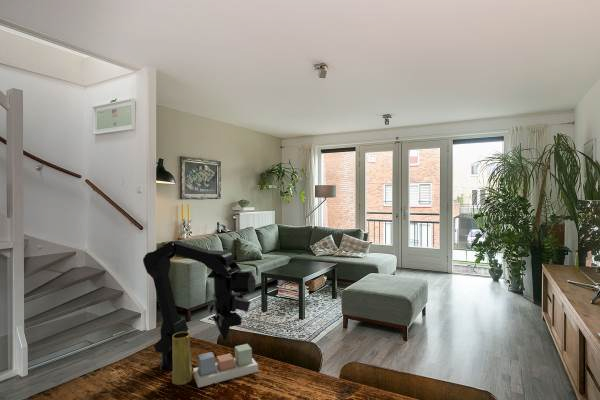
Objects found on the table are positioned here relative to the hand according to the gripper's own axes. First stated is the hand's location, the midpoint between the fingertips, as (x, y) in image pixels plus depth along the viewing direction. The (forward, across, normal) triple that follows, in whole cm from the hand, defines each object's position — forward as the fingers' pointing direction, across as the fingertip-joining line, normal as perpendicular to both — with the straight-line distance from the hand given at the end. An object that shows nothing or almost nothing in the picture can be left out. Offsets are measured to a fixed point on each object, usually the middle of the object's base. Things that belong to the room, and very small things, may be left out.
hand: (224, 339), depth 113 cm
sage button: (+9, 0, -6) cm, 11 cm away
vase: (+11, +3, +13) cm, 17 cm away
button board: (+11, 0, 0) cm, 11 cm away
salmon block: (+11, 0, 0) cm, 11 cm away
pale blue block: (+9, 0, +6) cm, 11 cm away
